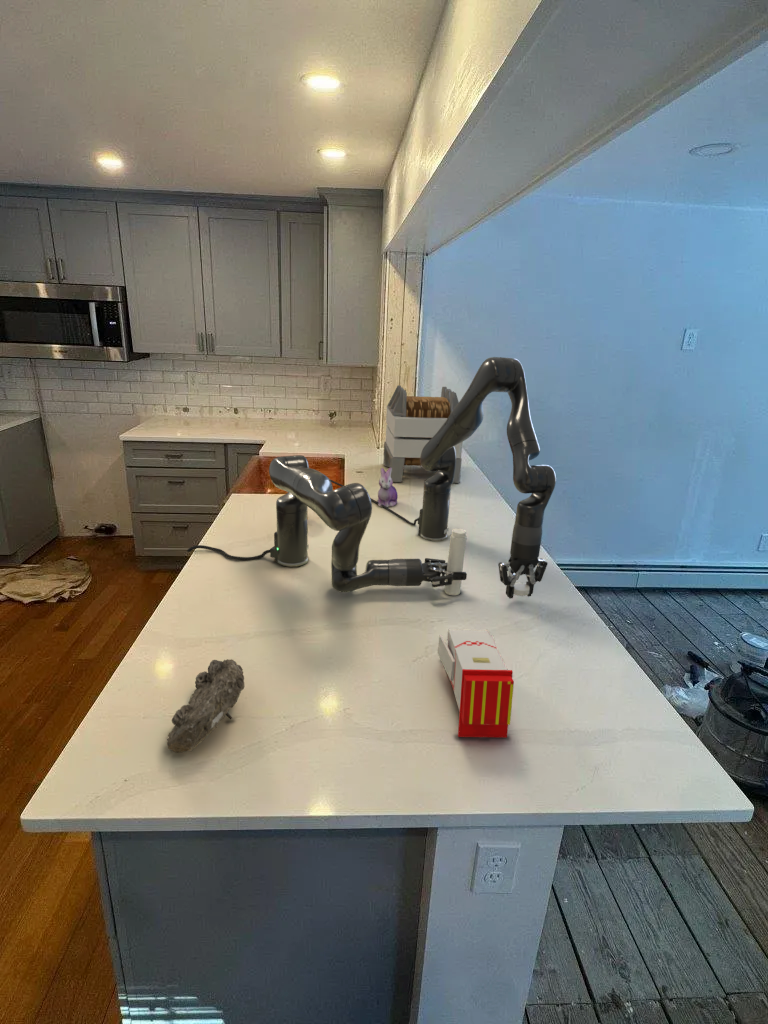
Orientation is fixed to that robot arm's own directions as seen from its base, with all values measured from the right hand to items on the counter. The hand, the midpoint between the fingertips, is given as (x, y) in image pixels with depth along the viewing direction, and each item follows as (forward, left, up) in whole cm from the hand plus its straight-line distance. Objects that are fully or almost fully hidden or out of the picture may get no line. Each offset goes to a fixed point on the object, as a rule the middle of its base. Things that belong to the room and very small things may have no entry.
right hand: (518, 595), depth 155 cm
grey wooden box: (-90, +92, -2) cm, 128 cm away
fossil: (-28, -81, -2) cm, 86 cm away
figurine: (-75, +43, -2) cm, 86 cm away
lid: (0, 0, +3) cm, 3 cm away
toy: (+7, -43, -2) cm, 44 cm away
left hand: (-15, -4, +4) cm, 16 cm away
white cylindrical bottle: (-17, -6, -2) cm, 18 cm away
